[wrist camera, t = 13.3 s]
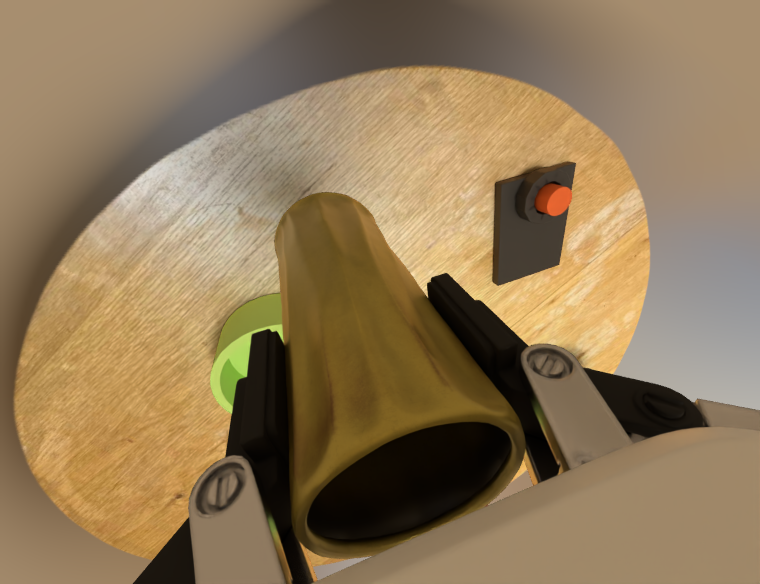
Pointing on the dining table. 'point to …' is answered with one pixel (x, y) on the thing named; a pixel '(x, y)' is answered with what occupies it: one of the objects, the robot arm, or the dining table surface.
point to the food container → (241, 344)
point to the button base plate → (527, 224)
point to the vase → (378, 392)
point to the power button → (553, 199)
